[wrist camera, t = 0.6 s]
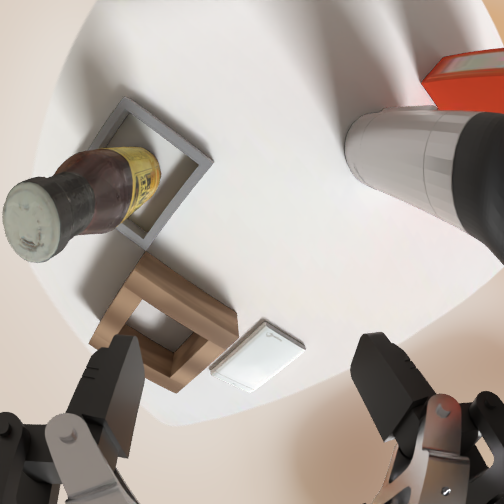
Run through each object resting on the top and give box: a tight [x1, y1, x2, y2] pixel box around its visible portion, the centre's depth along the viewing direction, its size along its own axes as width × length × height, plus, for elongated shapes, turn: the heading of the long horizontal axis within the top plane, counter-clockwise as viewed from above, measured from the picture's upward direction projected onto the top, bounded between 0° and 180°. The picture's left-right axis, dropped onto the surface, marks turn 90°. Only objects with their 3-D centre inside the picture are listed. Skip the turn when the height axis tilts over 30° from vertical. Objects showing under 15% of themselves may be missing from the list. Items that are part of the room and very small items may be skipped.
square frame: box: [88, 96, 214, 251], centre depth 27 cm, size 12×12×2 cm
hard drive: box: [211, 321, 306, 393], centre depth 40 cm, size 2×8×12 cm
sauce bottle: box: [3, 147, 161, 263], centre depth 19 cm, size 6×6×20 cm
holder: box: [89, 251, 239, 393], centre depth 33 cm, size 14×14×5 cm
